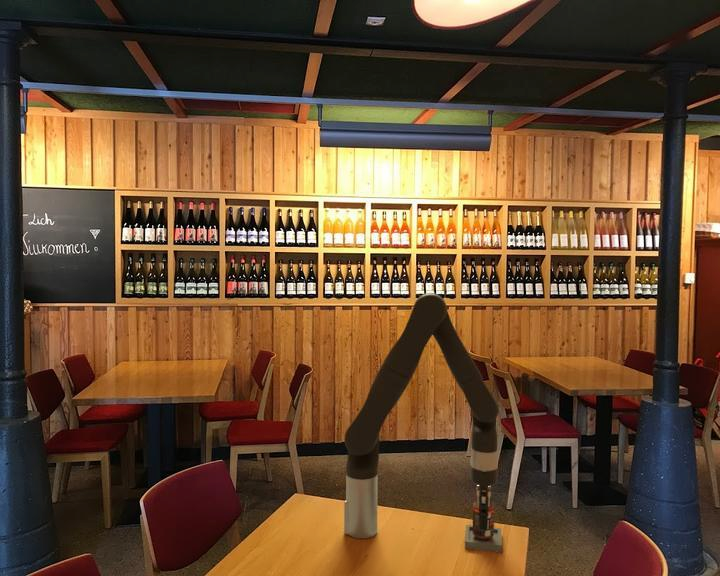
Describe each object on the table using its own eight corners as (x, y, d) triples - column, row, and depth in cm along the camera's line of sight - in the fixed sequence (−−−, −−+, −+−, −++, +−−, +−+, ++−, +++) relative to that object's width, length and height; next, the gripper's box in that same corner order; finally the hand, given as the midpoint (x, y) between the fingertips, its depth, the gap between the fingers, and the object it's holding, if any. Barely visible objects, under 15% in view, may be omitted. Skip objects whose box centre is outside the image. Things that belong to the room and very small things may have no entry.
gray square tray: (464, 548, 154) (464, 541, 154) (466, 531, 164) (466, 524, 163) (501, 552, 152) (502, 545, 152) (500, 535, 161) (501, 528, 161)
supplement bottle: (494, 541, 154) (495, 501, 153) (472, 539, 155) (473, 499, 155) (493, 531, 160) (494, 492, 159) (472, 529, 161) (473, 491, 161)
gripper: (471, 454, 164) (470, 510, 165) (469, 472, 150) (469, 533, 151) (497, 457, 163) (496, 513, 164) (498, 475, 149) (497, 536, 150)
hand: (483, 522), depth 157 cm, fingers closed on supplement bottle, 6 cm apart
